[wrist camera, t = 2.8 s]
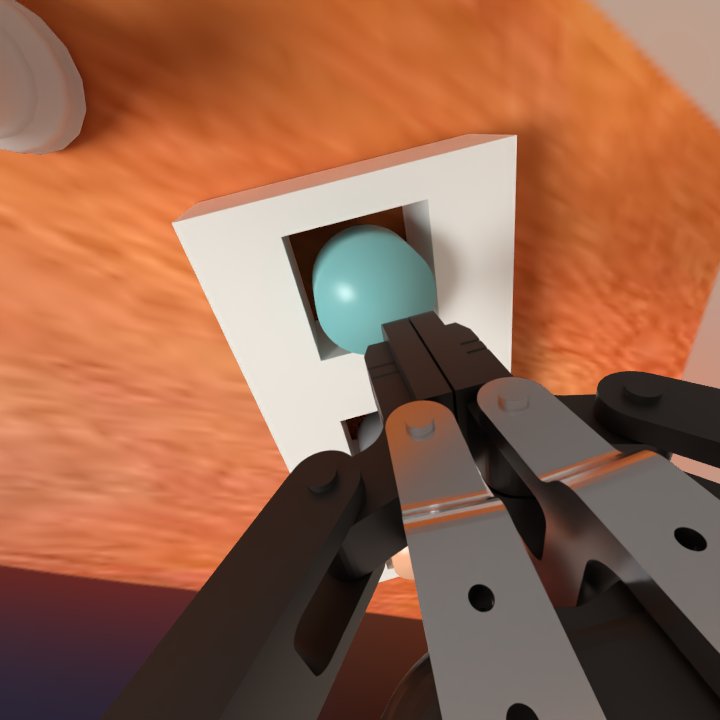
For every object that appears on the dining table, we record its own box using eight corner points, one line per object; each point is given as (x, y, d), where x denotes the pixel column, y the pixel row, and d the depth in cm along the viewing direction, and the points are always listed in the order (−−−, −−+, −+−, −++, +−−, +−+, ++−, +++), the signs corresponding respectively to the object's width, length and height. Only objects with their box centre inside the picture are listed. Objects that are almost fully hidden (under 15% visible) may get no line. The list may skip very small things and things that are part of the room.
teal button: (327, 337, 17) (332, 367, 14) (298, 240, 14) (300, 259, 12) (421, 312, 17) (440, 338, 15) (408, 211, 14) (429, 226, 12)
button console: (339, 539, 30) (346, 591, 26) (195, 203, 16) (171, 223, 12) (481, 499, 30) (506, 545, 27) (468, 133, 16) (517, 134, 13)
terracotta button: (390, 550, 26) (399, 586, 24) (379, 514, 24) (388, 551, 22) (449, 533, 27) (463, 567, 24) (444, 496, 24) (459, 530, 22)
